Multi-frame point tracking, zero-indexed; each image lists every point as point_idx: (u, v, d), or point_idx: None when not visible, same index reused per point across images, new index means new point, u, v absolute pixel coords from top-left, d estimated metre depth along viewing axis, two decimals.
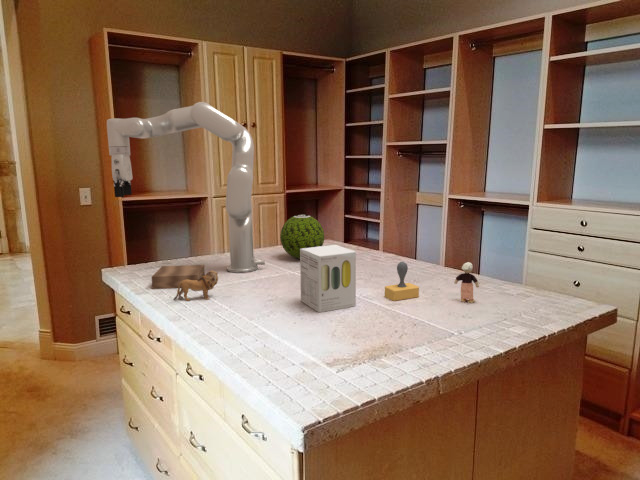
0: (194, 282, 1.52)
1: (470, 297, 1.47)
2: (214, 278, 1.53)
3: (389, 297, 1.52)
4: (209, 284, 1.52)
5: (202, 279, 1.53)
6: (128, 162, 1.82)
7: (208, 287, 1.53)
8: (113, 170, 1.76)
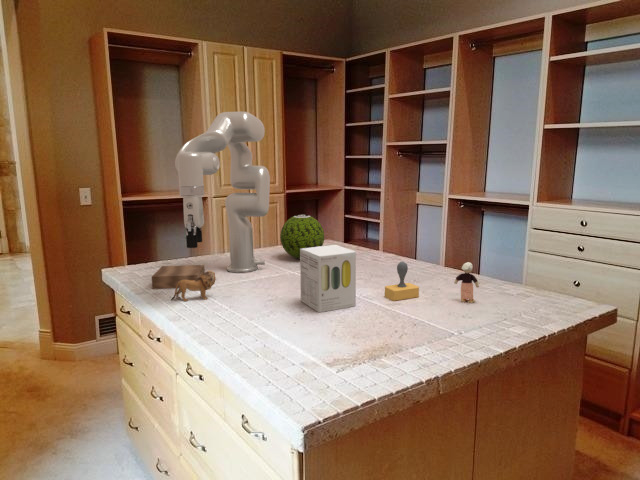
0: (192, 282, 1.52)
1: (470, 297, 1.47)
2: (212, 278, 1.53)
3: (389, 297, 1.52)
4: (207, 284, 1.52)
5: (200, 279, 1.53)
6: (201, 204, 1.50)
7: (206, 287, 1.53)
8: (185, 215, 1.45)
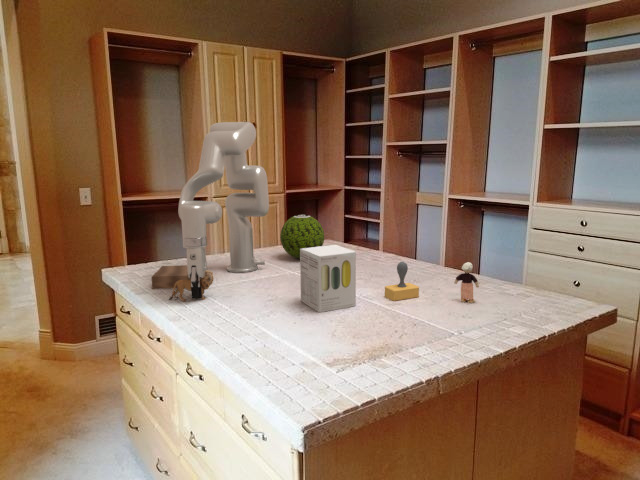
0: (190, 282, 1.52)
1: (470, 297, 1.47)
2: (210, 278, 1.53)
3: (389, 297, 1.52)
4: (205, 284, 1.52)
5: None
6: (204, 254, 1.53)
7: (204, 287, 1.53)
8: (189, 266, 1.48)
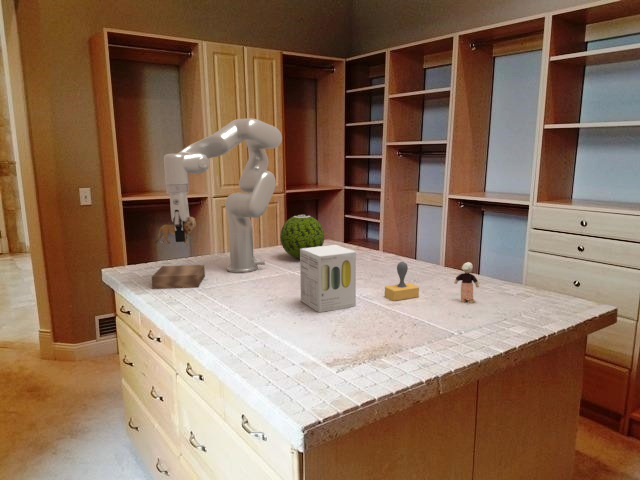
0: (173, 227, 1.65)
1: (470, 297, 1.47)
2: (192, 223, 1.66)
3: (389, 297, 1.52)
4: (187, 228, 1.65)
5: None
6: (186, 200, 1.65)
7: (186, 231, 1.65)
8: (172, 211, 1.60)
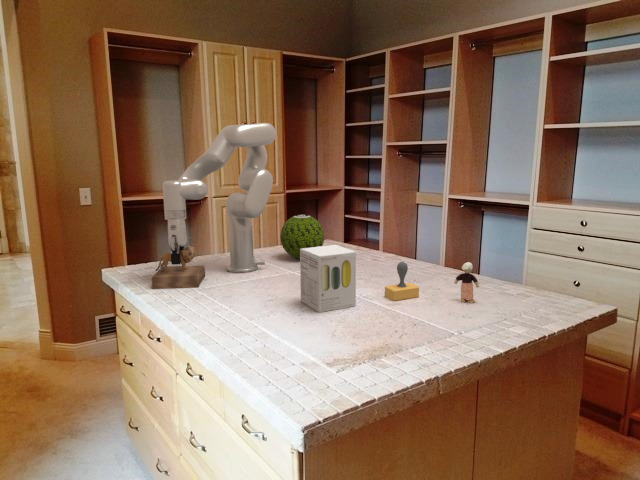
0: None
1: (470, 297, 1.47)
2: (191, 252, 1.72)
3: (389, 297, 1.52)
4: (186, 258, 1.72)
5: (180, 253, 1.72)
6: (184, 225, 1.71)
7: (185, 260, 1.72)
8: (170, 236, 1.66)
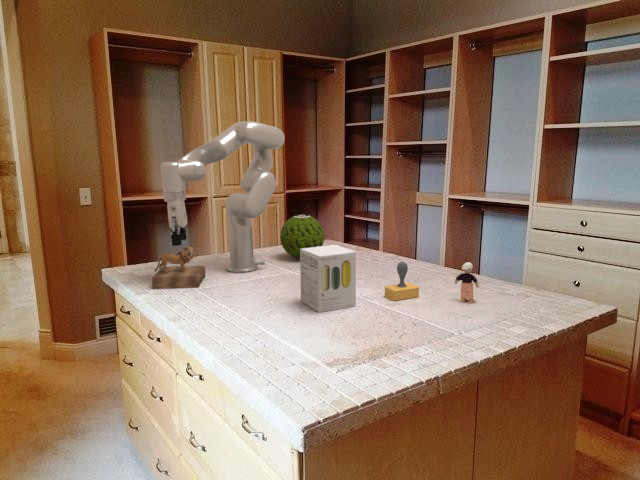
0: (172, 256, 1.71)
1: (470, 297, 1.47)
2: (190, 253, 1.72)
3: (389, 297, 1.52)
4: (185, 258, 1.72)
5: (179, 253, 1.72)
6: (184, 207, 1.70)
7: (184, 260, 1.72)
8: (170, 217, 1.65)
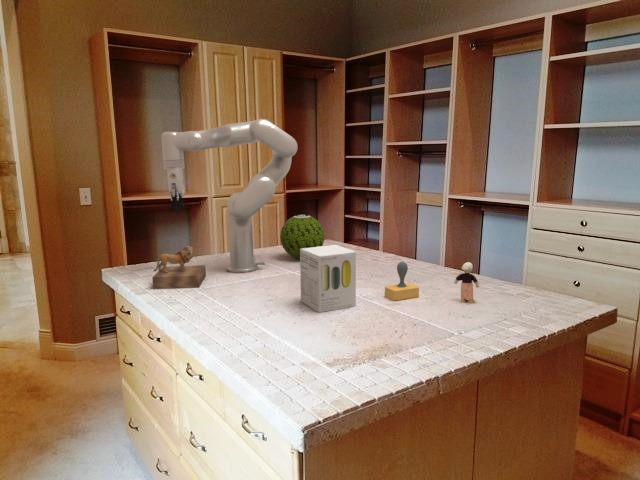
0: (172, 256, 1.71)
1: (470, 297, 1.47)
2: (190, 252, 1.72)
3: (389, 297, 1.52)
4: (185, 258, 1.71)
5: (179, 253, 1.71)
6: (182, 175, 1.79)
7: (184, 260, 1.72)
8: (170, 184, 1.74)
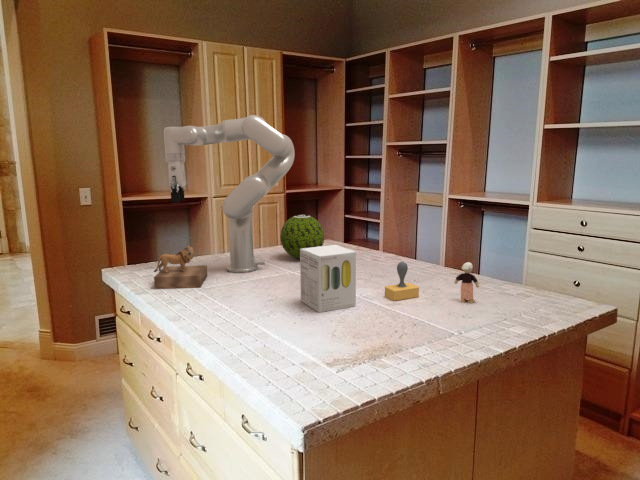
0: (172, 256, 1.71)
1: (470, 297, 1.47)
2: (190, 253, 1.72)
3: (389, 297, 1.52)
4: (186, 258, 1.71)
5: (180, 253, 1.71)
6: (183, 169, 1.88)
7: (185, 260, 1.71)
8: (170, 176, 1.83)
